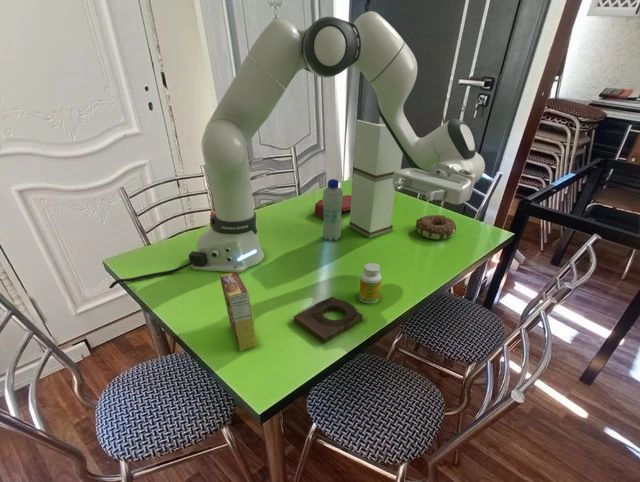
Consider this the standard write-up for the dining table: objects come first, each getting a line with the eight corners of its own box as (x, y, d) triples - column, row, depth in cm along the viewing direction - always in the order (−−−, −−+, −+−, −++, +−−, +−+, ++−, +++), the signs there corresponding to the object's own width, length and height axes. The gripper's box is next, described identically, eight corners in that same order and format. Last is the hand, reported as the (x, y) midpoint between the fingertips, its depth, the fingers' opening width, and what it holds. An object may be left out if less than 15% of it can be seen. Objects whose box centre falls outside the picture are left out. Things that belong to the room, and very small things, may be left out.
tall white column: (392, 230, 132) (407, 122, 110) (369, 238, 127) (380, 126, 105) (371, 220, 139) (381, 116, 118) (349, 226, 134) (356, 120, 113)
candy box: (229, 328, 88) (219, 274, 78) (247, 324, 89) (238, 270, 80) (238, 352, 81) (228, 295, 72) (257, 346, 83) (249, 290, 73)
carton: (348, 206, 160) (310, 214, 143) (349, 194, 157) (311, 201, 140) (371, 213, 154) (334, 222, 137) (373, 201, 151) (335, 209, 134)
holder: (324, 344, 83) (324, 338, 82) (293, 321, 90) (292, 315, 89) (366, 319, 91) (366, 313, 90) (334, 299, 98) (334, 294, 96)
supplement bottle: (364, 305, 95) (368, 274, 89) (355, 295, 99) (357, 263, 93) (382, 301, 97) (386, 269, 91) (372, 290, 101) (375, 259, 95)
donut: (460, 232, 131) (464, 219, 128) (443, 245, 123) (447, 231, 120) (424, 221, 138) (427, 209, 135) (406, 233, 130) (408, 220, 127)
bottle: (339, 243, 124) (342, 183, 111) (320, 241, 125) (320, 182, 112) (342, 235, 129) (345, 177, 116) (324, 233, 130) (324, 175, 117)
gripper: (412, 159, 100) (379, 168, 93) (482, 176, 88) (450, 189, 81) (409, 182, 104) (377, 193, 96) (475, 202, 92) (444, 216, 85)
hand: (411, 191), depth 89 cm, fingers open, 8 cm apart
